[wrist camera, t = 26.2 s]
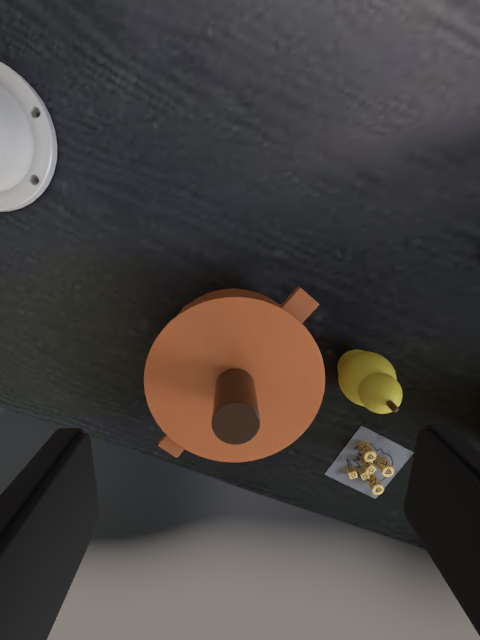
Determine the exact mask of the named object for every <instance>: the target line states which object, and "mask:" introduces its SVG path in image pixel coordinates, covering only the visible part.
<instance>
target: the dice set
mask: <svg viewBox="0 0 480 640" xmlns="http://www.w3.org/2000/svg"><path fill="white" fill-rule="evenodd" d="M357 449H358V450H359V452H360V454H361V455H362V456H361V458H360V461H359V463H360V464H361V466H362V467H360V468H358V469H357V470H356V468H355V466H354V465H352V466H348V467H346V468H345V470H346V473H347V476H348V478H349V480H350V481H351V480H354V479H357V478H358V477H359V476H360V478H361V479H362V481H363V482H364V481H366V483H367V484H368V486H369V488H370V490H371V492H372V494H373V495H375V496H378V495H379V494H382V493H383V491H384V486H383V484H382V483H381V481H380V479H379V478H378V476H377V475H376V474H375V472H376V471H377V470H378V469H379V471H380V472H381V474H382V475H383V476H384V477H385V478H390V477H392V476H393V475H394V474H395V471H396V470H395V469H394V467H393V466H392V465H391V463H390V462H389V460H388V459H387V458H386V457H385V456H383V455H380V456H379V457H377V456H378V455H377V453H376V452H375V450H374V449H373V447H372V446H371V444H370V443H369V442H368V441H361V442H360V443H359V444H358V447H357Z"/></svg>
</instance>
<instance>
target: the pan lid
mask: <svg viewBox="0 0 480 640" xmlns="http://www.w3.org/2000/svg"><path fill="white" fill-rule="evenodd" d="M324 389H325V369H324V364H323V359H322V356H321V353H320V350H319V348H318V346H317V344H316V342H315V340H314V338H313V337H312V335H311V334H310V333H309V331H308V330H307V329H306V327H305V326H304V325H303V324H302V323H301V322H300V321H299V320H298V319H297V318H296V317H294V316H293V315H292V314H290V313H289V312H288V311H286V310H284V309H283V308H281V307H279V306H277V305H275V304H273V303H270V302H268V301H265V300H261V299H257V298H253V297H245V296H225V297H218V298H213V299H209V300H206V301H202V302H200V303H198V304H195V305H193V306H191V307H189V308H188V309H186V310H184V311H182V312H181V313H180V314H178V315H177V316H176V317H174V318H173V319H172V320H171V321H170V322H169V323H168V324H167V325H166V326H165V327H164V328H163V330H162V331H161V332H160V334H159V335H158V336H157V338H156V339H155V341H154V343H153V345H152V347H151V349H150V351H149V354H148V357H147V360H146V365H145V370H144V390H145V396H146V400H147V404H148V406H149V409H150V411H151V414H152V415H153V417H154V419H155V421H156V422H157V424H158V425H159V426H160V428H161V429H162V430H163V432H164V433H165V434H166V435H167V436H168V437H169V438H170V439H171V440H173V441H174V442H175V443H177V444H178V445H179V446H181V447H182V448H184V449H186V450H187V451H189V452H191V453H193V454H196V455H198V456H201V457H204V458H207V459H211V460H216V461H222V462H245V461H253V460H257V459H261V458H264V457H267V456H269V455H272V454H274V453H276V452H278V451H280V450H282V449H284V448H285V447H287V446H288V445H290V444H291V443H293V442H294V441H295V440H296V439H297V438H299V437H300V436H301V435H302V434H303V433H304V431H305V430H306V429H307V428H308V427H309V425H310V424H311V422H312V421H313V420H314V418H315V416H316V414H317V412H318V410H319V407H320V405H321V402H322V399H323V394H324Z"/></svg>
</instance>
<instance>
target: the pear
mask: <svg viewBox="0 0 480 640" xmlns="http://www.w3.org/2000/svg"><path fill="white" fill-rule="evenodd" d="M337 370H338V381H339V385H340V388H341V390H342V392H343V393H344V395H345V396H346V397H347V398H348V399H349V400H351V401H352V402H354V403H356V404H358V405H361V406H365V407H366V408H367V409H369V410H370V411H372V412H375V413H379V414H386V413H390V412H397V411H398V406H399V405H400V403H401V401H402V389H401V386H400V384H399V383H398V381H397V377H396V373H395V370H394V368H393V366H392V365H391V363H390V362H389V361H388V360H387V359H386V358H384V357H383V356H381V355H379V354H377V353H374V352H368V351H363V350H359V349H354V350H350V351H348V352H346V353H345V354H343V355H342V356H341V358H340V359H339V361H338V365H337Z"/></svg>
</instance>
